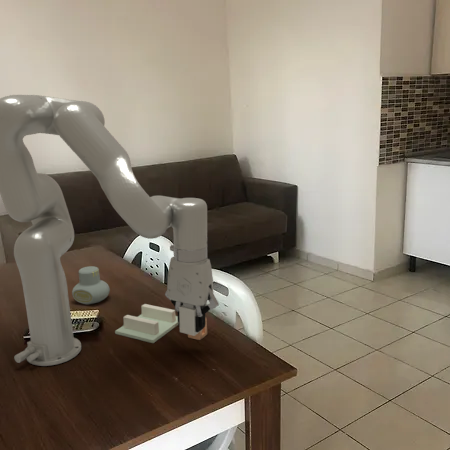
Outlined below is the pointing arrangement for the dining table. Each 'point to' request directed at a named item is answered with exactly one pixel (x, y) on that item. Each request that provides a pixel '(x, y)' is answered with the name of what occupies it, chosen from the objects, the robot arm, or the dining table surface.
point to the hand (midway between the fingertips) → (191, 326)
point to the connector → (188, 319)
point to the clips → (201, 333)
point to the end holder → (149, 323)
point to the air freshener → (90, 286)
